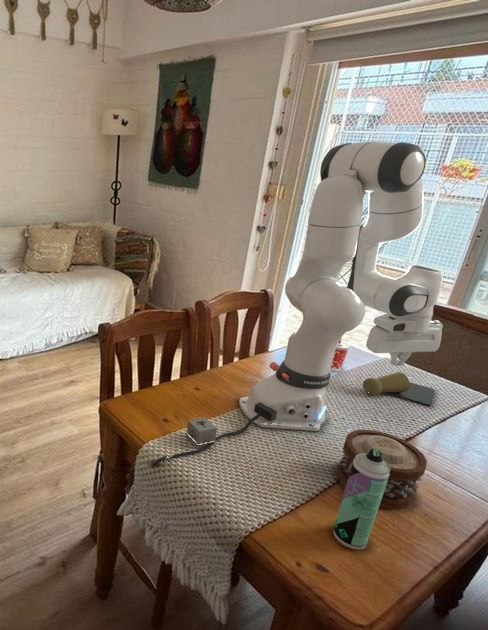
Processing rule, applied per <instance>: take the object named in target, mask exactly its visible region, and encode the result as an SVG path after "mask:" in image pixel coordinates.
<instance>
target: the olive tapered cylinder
mask: <svg viewBox="0 0 488 630" xmlns="http://www.w3.org/2000/svg"><path fill="white" fill-rule="evenodd" d="M409 382H410V380H409V378H408V376H407V375H406V374H405V373H403V372H402V371H396V372H393V373H390V374H387V375H386V374H385V375H383V376H380V377H377V378H375V377H369V378H366V379H364V380H363V382H362V388H363V390H364V389H365V390H366V391H365V390H364V392H365V393H366V394H367V395H370V396H378V395H379V394H382V392H406V391H408V389H409V386H410V384H409ZM368 392H369V393H368ZM373 394H374V395H373Z"/></svg>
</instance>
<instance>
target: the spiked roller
mask: <svg viewBox="0 0 488 630" xmlns="http://www.w3.org/2000/svg"><path fill="white" fill-rule="evenodd" d="M344 440H345V441H344V444H343V447H341V449H342V450H341V451H342V453H343V454H342V455H341V456H342V457H341V458H340V461H339V463H338V466H337V469H336V477H337V480H338V482H339V483H340V484H341V486H342V487H343V488H344V489H345V488H346V485H347V481H348V478H349V474H350V471H351V467H352V464H353V460H354V459H355V456H356V455H358V454H362V453H364V454H366V453H369V452H370V450H371V449H376V450H378V451H380V452H381V454H382V455H381V457H382V459H383V460H384V461H385V462H387V463H388V465H389V466H390V475H389V478H388V481H387V484H386V487H385V490H384V493H383V496H382V499H381V502H380V505H379V508H382V509H390V510H401V509H407V508H409V507H411V506H412V505H413V504H414V501H415V500H416V496H417V491H418V489H419V488H420V486H419V485H418V483H417V482H418V481H422V482H423V479H422V478H421V477H423V476H424V474H425V472H426V469H427V466H428V465H427V464H428V463H427V462H428V460H427V458H426V457H425V455H424V453H423V452H422V451H421V450H419V449H418V448H417V447H416V446H415V445H413V444H411V443H410V442H408V441H406V440H405V439H403V438H400V437H398V436H396V435H393V434H390V433H387V432H382V431H379V430H373V429H372V430H371V429H357V430H353V431H351V432H349V433H348V434H347V435H346V437H345V439H344Z"/></svg>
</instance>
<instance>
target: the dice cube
mask: <svg viewBox="0 0 488 630" xmlns="http://www.w3.org/2000/svg"><path fill="white" fill-rule="evenodd" d="M217 431H218V429H217V427H216V425H214V424H213V422H211V421H210V420H209V419H208V418H207V417H206V416H203V417H199V418H193V419H188V420H187V428H186V435H185V437H186V439H188V441H189V442H190V443H191V444H192V445H193V446H194V447H195V448H196V450H198V449H201V448H203V447H205V446H207V445H208V444H209V443H207V444H202V445H197V444H200V443H205V442H210V441H214V440H215V438H216V437H217ZM187 433H188V434H189V435H190V436H191V437H192V438H194V440H195V441H196V442H197V444H196V443H195V442H194V441H193V440H192V439H191V438H190V437H189V436H188V435H187ZM211 443H214V444H213V445H212V446H214V445H216V442H211Z"/></svg>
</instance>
